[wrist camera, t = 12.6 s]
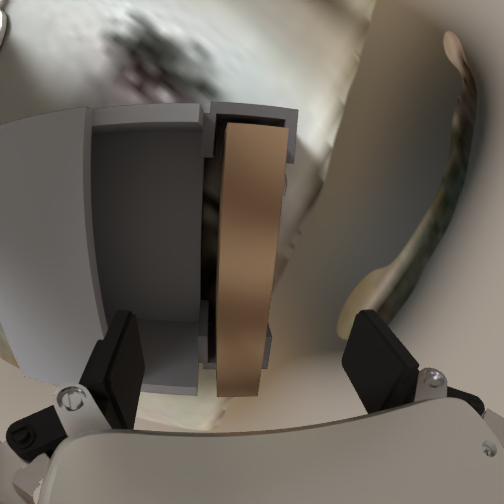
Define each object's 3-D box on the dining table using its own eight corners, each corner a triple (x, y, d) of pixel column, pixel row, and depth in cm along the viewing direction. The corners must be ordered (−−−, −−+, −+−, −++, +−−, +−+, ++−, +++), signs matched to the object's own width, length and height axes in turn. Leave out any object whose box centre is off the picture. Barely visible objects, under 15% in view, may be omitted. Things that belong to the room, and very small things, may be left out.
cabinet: (48, 123, 20) (-27, 122, 10) (280, 118, 23) (324, 98, 13) (68, 319, 27) (27, 382, 17) (258, 331, 30) (276, 409, 20)
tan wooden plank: (223, 133, 23) (227, 122, 13) (271, 137, 24) (311, 131, 13) (215, 316, 29) (217, 396, 19) (255, 317, 30) (273, 395, 20)
